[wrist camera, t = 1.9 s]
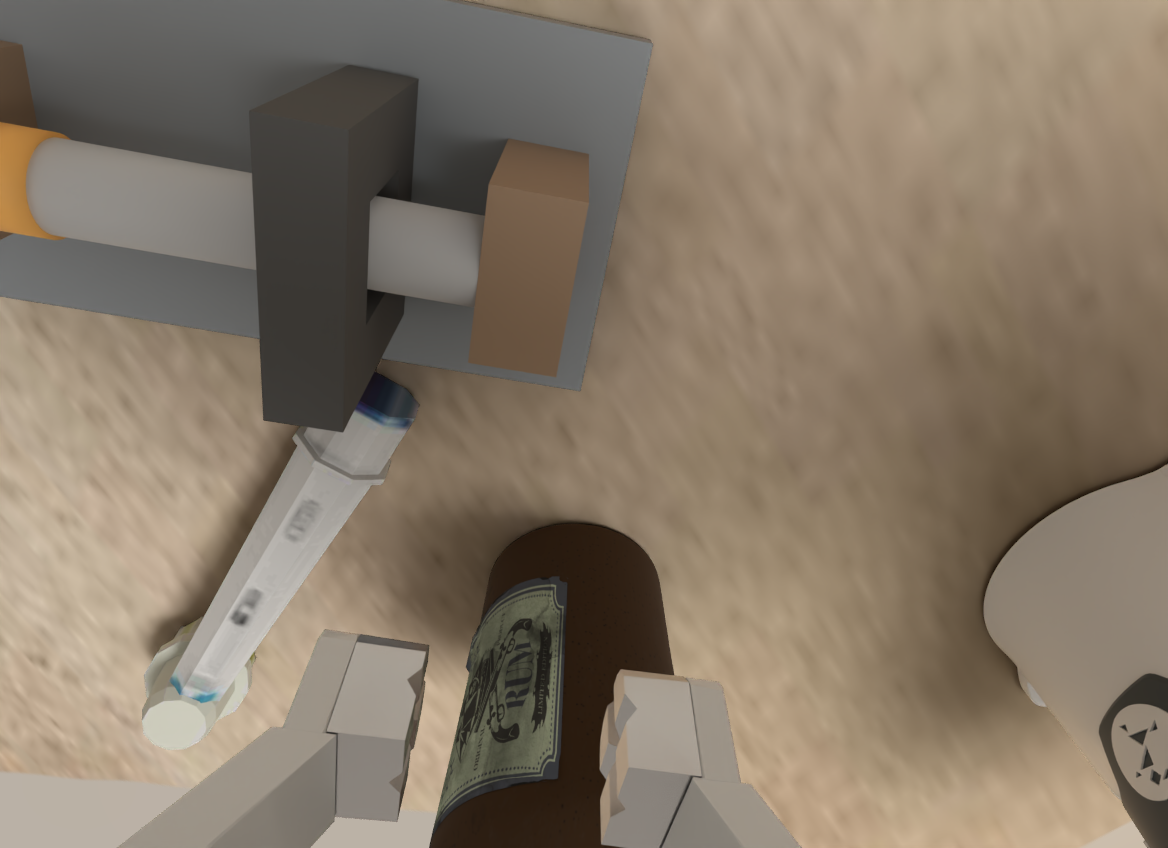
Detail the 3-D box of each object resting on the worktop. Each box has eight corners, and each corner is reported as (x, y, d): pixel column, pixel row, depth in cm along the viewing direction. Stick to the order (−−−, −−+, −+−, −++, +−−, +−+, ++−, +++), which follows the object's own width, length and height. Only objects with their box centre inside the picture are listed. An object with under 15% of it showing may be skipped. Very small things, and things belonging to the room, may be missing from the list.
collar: (418, 78, 26) (348, 129, 19) (403, 314, 31) (342, 432, 23) (348, 64, 26) (248, 110, 18) (344, 304, 31) (263, 420, 23)
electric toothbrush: (426, 441, 32) (191, 796, 40) (442, 382, 38) (234, 701, 46) (313, 379, 31) (90, 761, 39) (347, 328, 37) (149, 667, 45)
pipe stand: (650, 39, 27) (670, 68, 20) (580, 375, 35) (578, 480, 28) (-117, -121, 25) (-388, -149, 18) (-18, 276, 32) (-185, 364, 25)
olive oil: (710, 585, 42) (838, 1246, 20) (577, 678, 46) (568, 1309, 24) (569, 476, 38) (545, 1151, 16) (438, 588, 42) (282, 1245, 21)
